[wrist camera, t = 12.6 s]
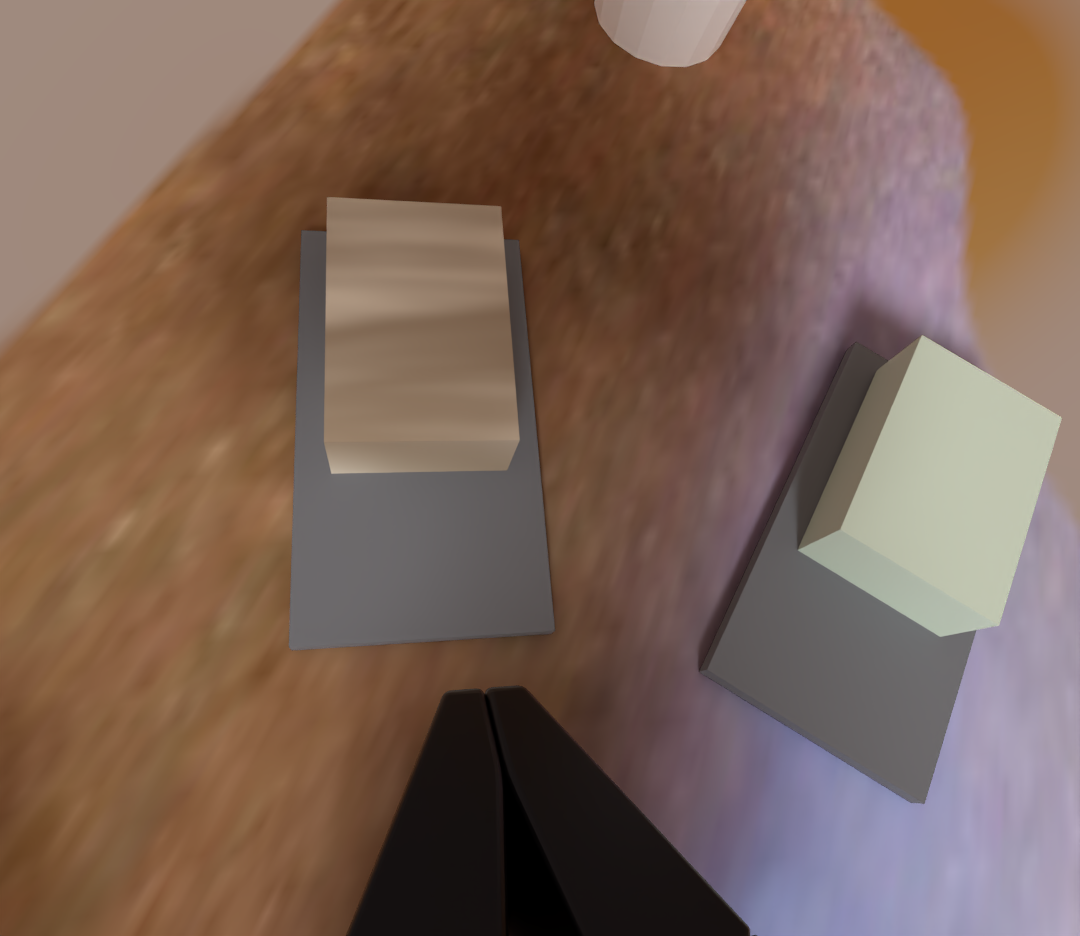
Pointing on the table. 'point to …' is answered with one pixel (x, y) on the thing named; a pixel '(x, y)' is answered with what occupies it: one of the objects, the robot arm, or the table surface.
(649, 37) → the white cup
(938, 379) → the sage tile
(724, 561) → the table surface
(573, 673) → the table surface
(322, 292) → the pair of gray tiles
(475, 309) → the cream tile
